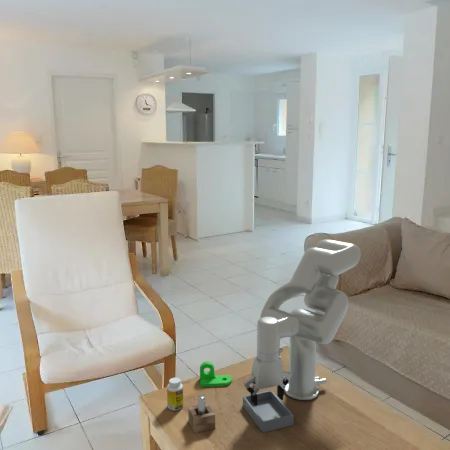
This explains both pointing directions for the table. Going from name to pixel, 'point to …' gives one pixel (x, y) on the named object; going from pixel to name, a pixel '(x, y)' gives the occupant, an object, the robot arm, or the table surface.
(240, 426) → the table surface
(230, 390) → the table surface
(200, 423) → the bore block
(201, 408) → the pin gauge
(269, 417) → the tray
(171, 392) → the supplement bottle
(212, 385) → the mechanical part
